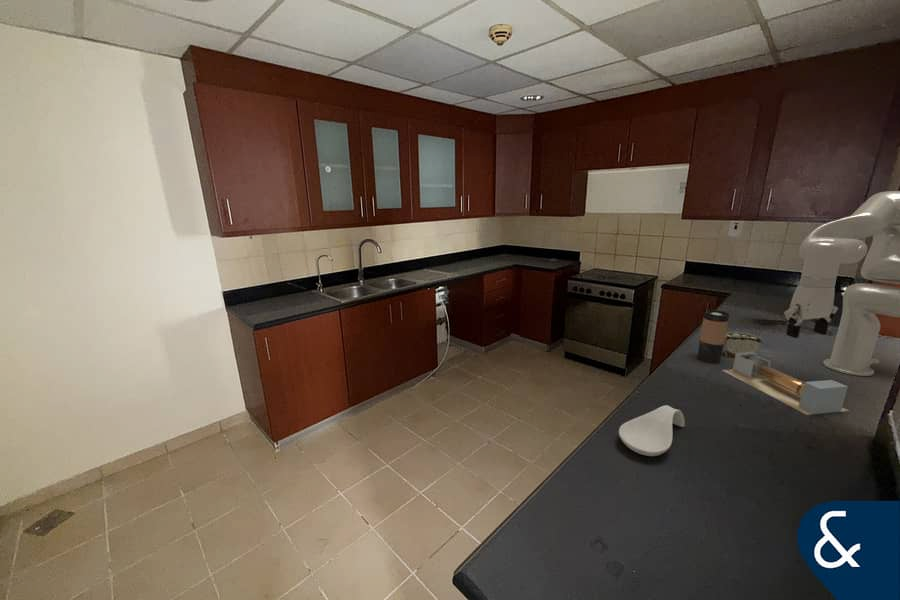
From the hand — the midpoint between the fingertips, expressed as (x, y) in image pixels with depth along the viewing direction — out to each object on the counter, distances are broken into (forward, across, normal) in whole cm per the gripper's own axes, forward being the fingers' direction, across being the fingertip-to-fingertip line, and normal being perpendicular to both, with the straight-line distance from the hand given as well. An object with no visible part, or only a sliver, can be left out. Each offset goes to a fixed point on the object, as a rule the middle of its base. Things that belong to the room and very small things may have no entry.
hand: (805, 334), depth 114 cm
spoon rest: (+17, +62, +17) cm, 66 cm away
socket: (+18, +7, +13) cm, 23 cm away
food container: (+20, -3, -25) cm, 32 cm away
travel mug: (+19, +11, -23) cm, 32 cm away
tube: (+16, +7, +4) cm, 18 cm away
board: (+19, +6, 0) cm, 20 cm away
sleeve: (+18, +7, -10) cm, 21 cm away
